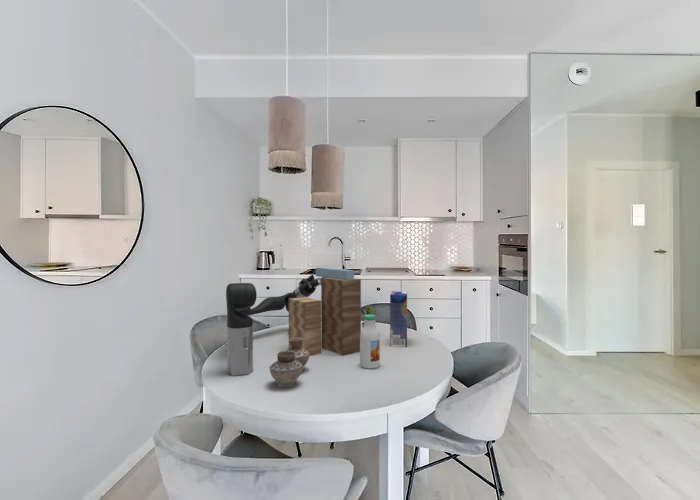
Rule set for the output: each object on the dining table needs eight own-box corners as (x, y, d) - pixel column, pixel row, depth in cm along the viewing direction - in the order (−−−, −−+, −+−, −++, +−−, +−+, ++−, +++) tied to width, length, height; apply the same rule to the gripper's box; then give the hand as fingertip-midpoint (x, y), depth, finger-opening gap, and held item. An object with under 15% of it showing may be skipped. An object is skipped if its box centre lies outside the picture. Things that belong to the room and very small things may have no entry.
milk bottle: (363, 369, 148) (363, 317, 147) (357, 363, 155) (357, 313, 155) (382, 368, 150) (382, 316, 150) (375, 362, 157) (375, 312, 157)
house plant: (350, 332, 207) (349, 302, 207) (374, 330, 211) (374, 300, 211) (358, 339, 194) (358, 306, 193) (384, 337, 198) (384, 304, 197)
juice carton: (406, 347, 179) (406, 295, 178) (390, 346, 180) (390, 294, 180) (407, 340, 191) (407, 291, 190) (391, 339, 192) (391, 291, 191)
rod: (354, 279, 170) (354, 270, 170) (346, 280, 168) (346, 270, 168) (322, 275, 189) (322, 267, 189) (315, 276, 187) (315, 267, 186)
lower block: (321, 353, 170) (321, 300, 169) (305, 356, 165) (305, 302, 164) (303, 346, 181) (303, 296, 180) (288, 349, 176) (288, 298, 175)
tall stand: (360, 351, 172) (360, 279, 172) (343, 355, 166) (342, 280, 165) (338, 343, 185) (338, 276, 184) (321, 347, 179) (321, 277, 178)
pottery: (313, 366, 152) (313, 336, 152) (298, 391, 127) (298, 355, 127) (284, 365, 153) (284, 335, 153) (265, 390, 128) (265, 354, 128)
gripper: (291, 284, 195) (306, 269, 184) (314, 282, 204) (330, 268, 192) (294, 298, 192) (310, 284, 181) (318, 295, 201) (335, 281, 190)
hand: (320, 275), depth 187 cm, fingers open, 8 cm apart
